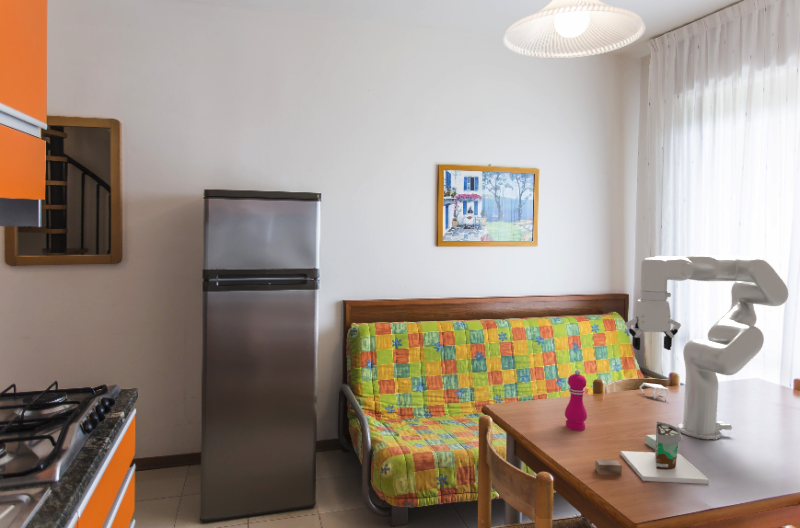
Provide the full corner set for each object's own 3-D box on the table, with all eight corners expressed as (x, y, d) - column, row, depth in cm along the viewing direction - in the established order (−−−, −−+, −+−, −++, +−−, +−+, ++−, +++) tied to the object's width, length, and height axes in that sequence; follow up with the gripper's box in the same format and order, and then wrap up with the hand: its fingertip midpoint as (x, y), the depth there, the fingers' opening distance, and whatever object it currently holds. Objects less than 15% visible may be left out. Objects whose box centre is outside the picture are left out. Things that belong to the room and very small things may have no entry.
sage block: (645, 444, 159) (646, 435, 159) (654, 443, 160) (654, 434, 160) (658, 452, 154) (659, 442, 153) (667, 451, 154) (668, 442, 154)
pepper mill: (588, 432, 168) (590, 373, 167) (565, 430, 169) (567, 371, 168) (584, 424, 175) (587, 367, 174) (563, 422, 176) (565, 366, 175)
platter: (679, 457, 150) (679, 453, 149) (708, 483, 134) (708, 479, 134) (620, 454, 151) (620, 450, 151) (643, 480, 135) (643, 476, 135)
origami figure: (672, 397, 208) (672, 385, 207) (667, 402, 201) (668, 390, 201) (640, 391, 215) (641, 380, 215) (635, 395, 209) (636, 384, 208)
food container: (682, 475, 135) (684, 439, 135) (656, 470, 138) (658, 435, 137) (678, 458, 146) (680, 424, 146) (655, 453, 149) (656, 420, 148)
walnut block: (617, 471, 140) (617, 460, 140) (621, 476, 137) (621, 465, 137) (595, 470, 141) (595, 459, 141) (598, 475, 138) (599, 464, 138)
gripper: (674, 295, 164) (673, 346, 165) (621, 294, 165) (619, 346, 166) (687, 298, 157) (685, 352, 158) (631, 297, 157) (629, 351, 158)
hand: (651, 349), depth 162 cm, fingers open, 9 cm apart
